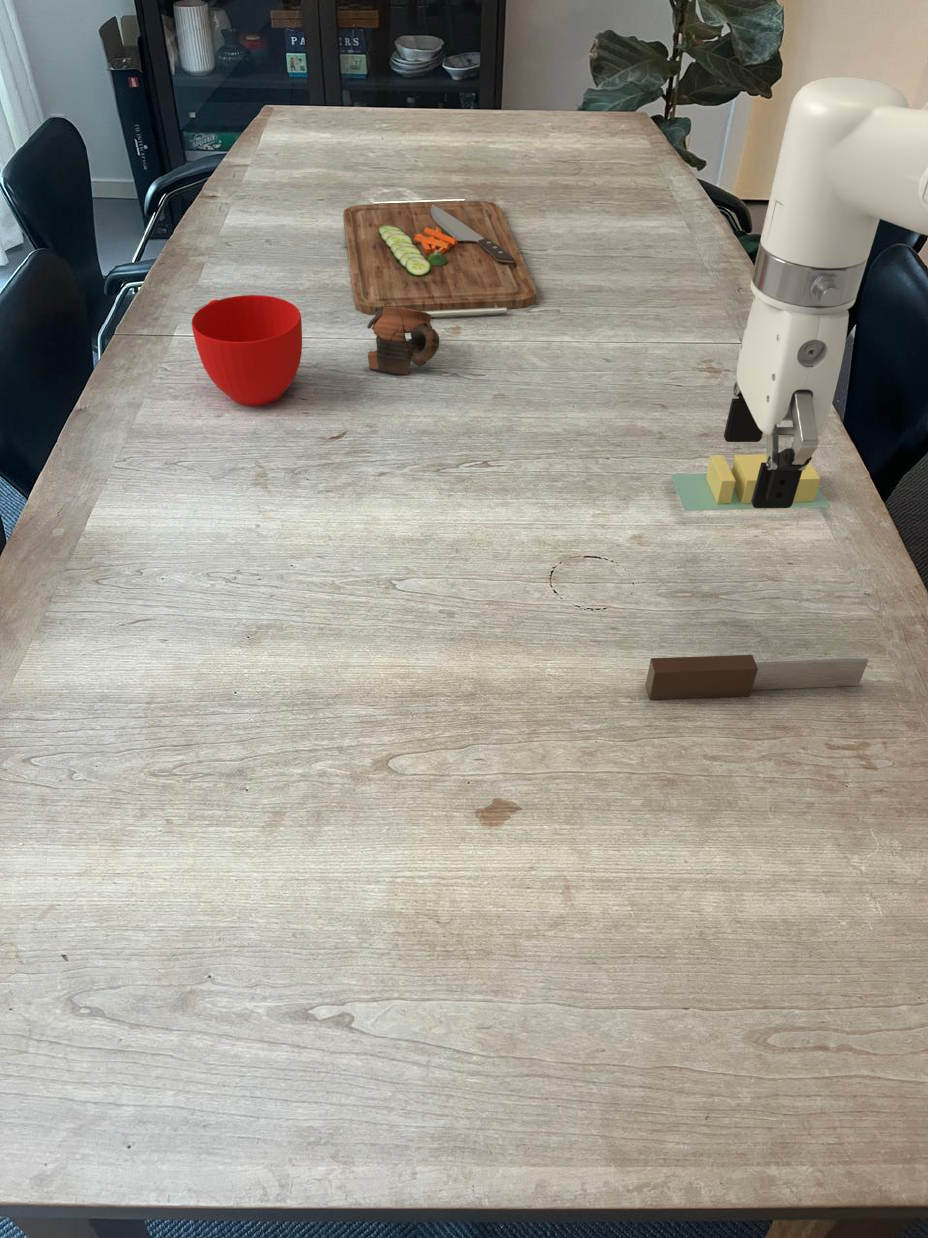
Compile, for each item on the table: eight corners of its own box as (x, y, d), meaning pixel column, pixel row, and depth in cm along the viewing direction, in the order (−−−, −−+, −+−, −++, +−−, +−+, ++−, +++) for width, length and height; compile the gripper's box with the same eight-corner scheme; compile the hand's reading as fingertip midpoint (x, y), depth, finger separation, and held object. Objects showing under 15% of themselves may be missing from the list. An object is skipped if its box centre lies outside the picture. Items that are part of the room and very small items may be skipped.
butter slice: (718, 477, 111) (723, 454, 109) (730, 503, 108) (736, 480, 106) (705, 478, 111) (710, 455, 109) (716, 504, 108) (722, 480, 106)
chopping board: (342, 207, 174) (340, 189, 172) (493, 202, 177) (494, 184, 175) (356, 322, 141) (355, 301, 139) (543, 313, 144) (544, 293, 142)
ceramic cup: (263, 347, 135) (254, 275, 129) (327, 398, 125) (321, 323, 118) (174, 373, 129) (159, 300, 123) (233, 430, 119) (221, 353, 113)
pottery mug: (348, 367, 132) (355, 302, 131) (398, 375, 139) (405, 314, 138) (412, 374, 125) (420, 306, 123) (462, 382, 132) (470, 318, 130)
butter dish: (807, 477, 113) (809, 470, 113) (828, 514, 108) (830, 506, 108) (668, 481, 113) (670, 473, 112) (682, 518, 107) (684, 510, 107)
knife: (861, 692, 88) (872, 664, 86) (649, 700, 87) (654, 672, 85) (854, 677, 90) (864, 650, 87) (645, 685, 89) (650, 657, 86)
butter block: (799, 475, 112) (806, 452, 110) (814, 501, 108) (821, 478, 106) (729, 477, 112) (734, 454, 110) (741, 503, 108) (747, 480, 106)
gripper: (900, 327, 66) (831, 534, 77) (822, 227, 79) (772, 418, 90) (788, 327, 66) (735, 534, 77) (728, 226, 78) (690, 417, 90)
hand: (755, 471), depth 84 cm, fingers open, 9 cm apart
